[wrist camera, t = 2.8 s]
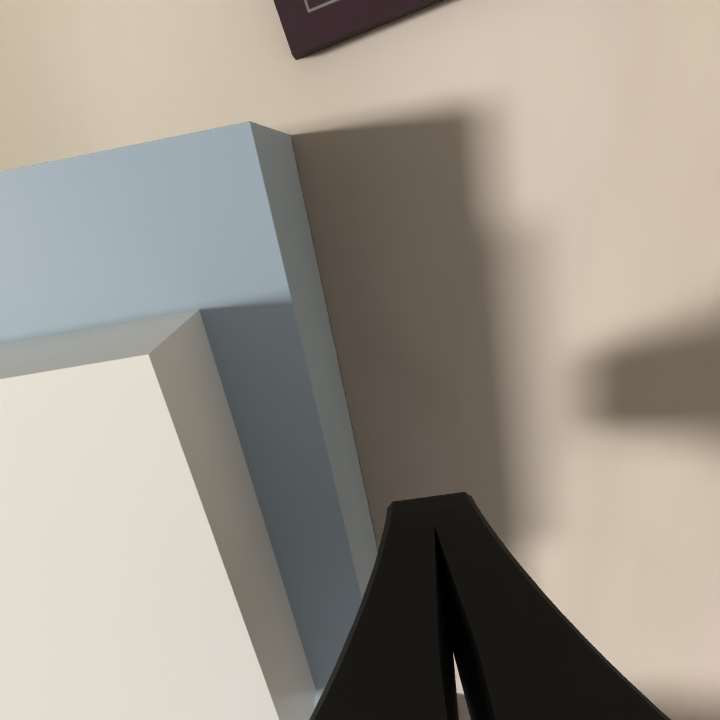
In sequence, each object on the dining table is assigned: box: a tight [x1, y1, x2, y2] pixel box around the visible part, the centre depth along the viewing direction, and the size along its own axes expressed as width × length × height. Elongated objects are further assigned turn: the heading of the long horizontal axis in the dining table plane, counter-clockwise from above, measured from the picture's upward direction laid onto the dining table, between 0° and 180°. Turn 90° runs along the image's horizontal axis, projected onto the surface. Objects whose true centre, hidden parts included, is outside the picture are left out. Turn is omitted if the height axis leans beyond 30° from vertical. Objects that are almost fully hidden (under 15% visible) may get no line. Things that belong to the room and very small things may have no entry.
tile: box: [0, 310, 316, 720], centre depth 9 cm, size 9×6×2 cm, turn 10°
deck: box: [0, 122, 378, 709], centre depth 12 cm, size 14×11×4 cm
